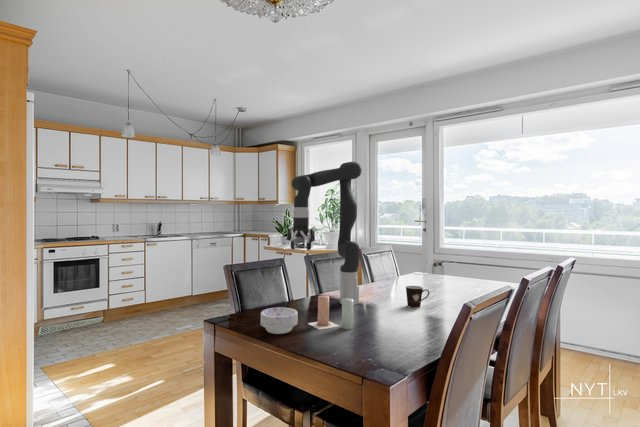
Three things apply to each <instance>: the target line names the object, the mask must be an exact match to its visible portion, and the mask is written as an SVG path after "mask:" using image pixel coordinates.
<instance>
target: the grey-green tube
mask: <svg viewBox="0 0 640 427" xmlns="http://www.w3.org/2000/svg"><path fill="white" fill-rule="evenodd" d="M341 329H343V330H347V331H348V330H353V329H354V305H353V299H351V298H344V299H342V304H341Z"/></svg>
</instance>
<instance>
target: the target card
mask: <svg viewBox="0 0 640 427" xmlns="http://www.w3.org/2000/svg"><path fill="white" fill-rule="evenodd" d="M307 325H309V326H311V327H313V328H315V329H317V330H318V331H319V330H320V331H321V330H327V329H333V328H339V327H340V325H338V324H336V323H334V322H332V321H330V320H329V325H327V326H320V325H318V321H314V322H307Z"/></svg>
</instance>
